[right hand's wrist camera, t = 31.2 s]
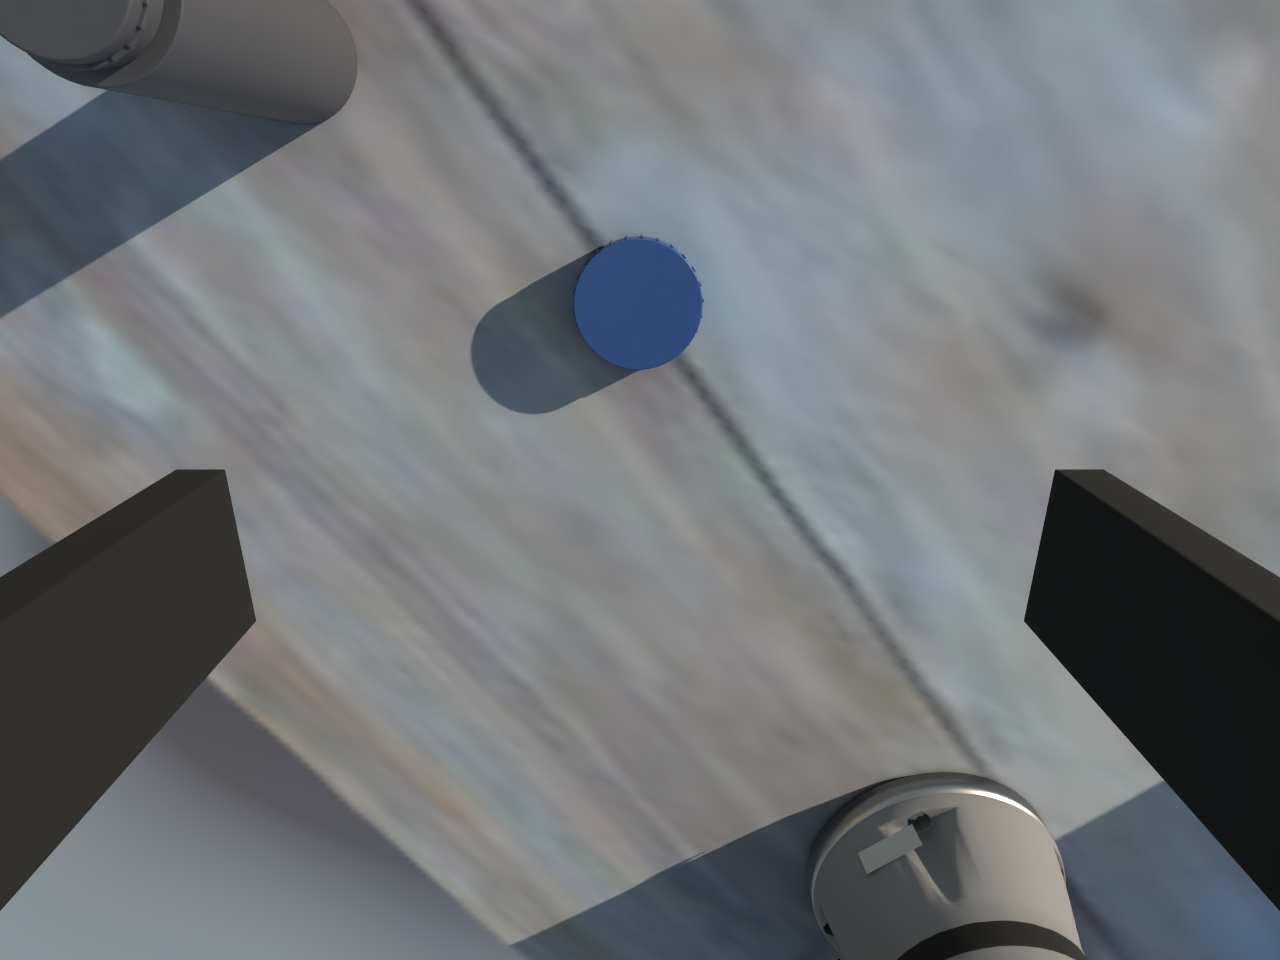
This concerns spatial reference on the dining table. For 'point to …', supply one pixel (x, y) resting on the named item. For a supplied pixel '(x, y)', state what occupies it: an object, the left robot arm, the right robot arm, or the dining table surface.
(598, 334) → the lid
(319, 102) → the jar
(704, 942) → the dining table surface
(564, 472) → the dining table surface
